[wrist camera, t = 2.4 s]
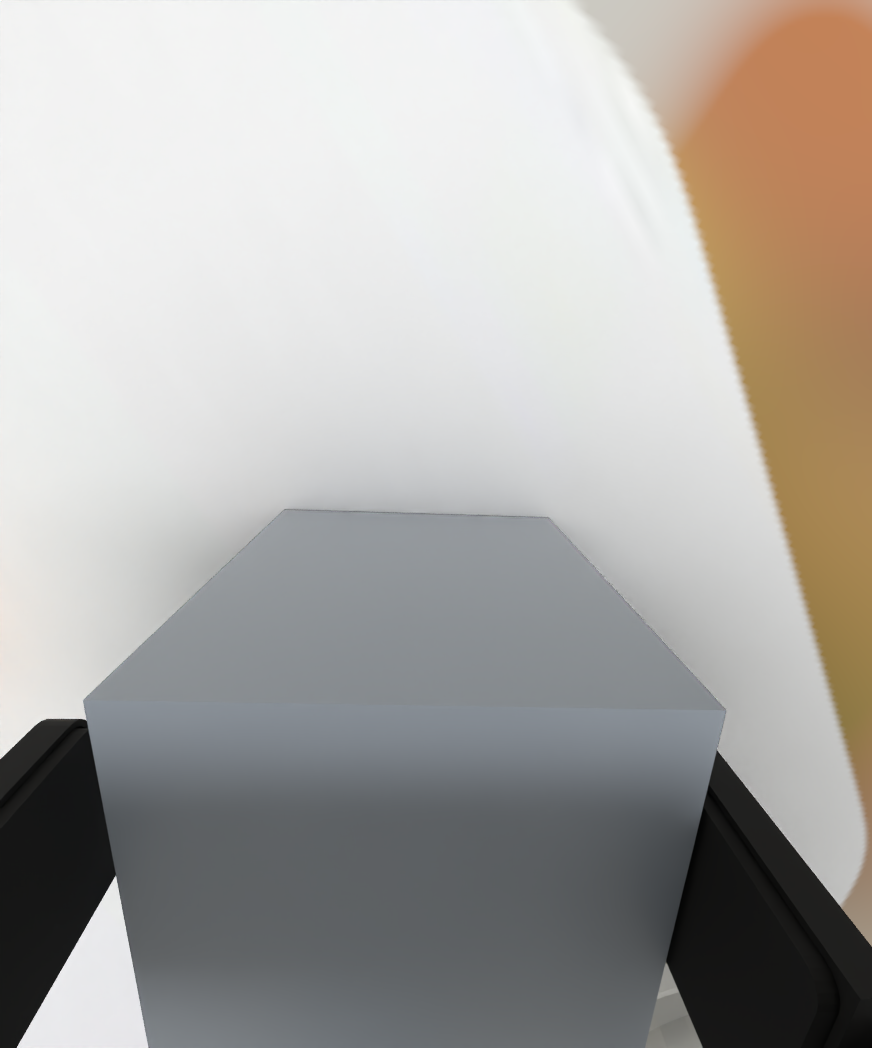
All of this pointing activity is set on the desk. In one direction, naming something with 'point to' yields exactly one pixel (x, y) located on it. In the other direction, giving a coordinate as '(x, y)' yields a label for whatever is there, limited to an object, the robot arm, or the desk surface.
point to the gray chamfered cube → (402, 793)
